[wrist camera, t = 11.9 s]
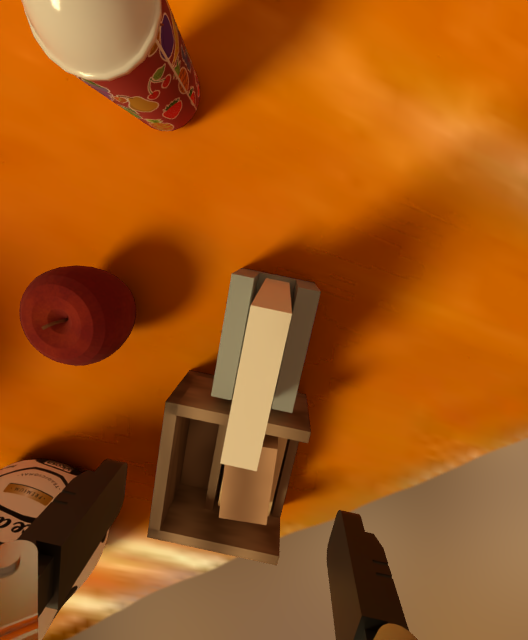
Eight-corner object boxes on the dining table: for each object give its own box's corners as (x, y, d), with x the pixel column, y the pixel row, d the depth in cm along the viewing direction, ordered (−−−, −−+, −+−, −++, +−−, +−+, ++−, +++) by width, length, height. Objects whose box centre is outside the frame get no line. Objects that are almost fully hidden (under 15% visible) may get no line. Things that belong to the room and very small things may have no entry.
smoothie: (222, 66, 32) (124, -208, 13) (197, 155, 34) (79, 38, 15) (139, 36, 32) (-88, -288, 12) (120, 127, 34) (-104, -29, 14)
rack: (305, 394, 39) (310, 432, 31) (278, 506, 43) (276, 565, 35) (189, 370, 39) (165, 401, 32) (172, 483, 43) (147, 537, 35)
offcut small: (278, 432, 35) (277, 449, 32) (267, 503, 37) (266, 525, 35) (231, 425, 36) (227, 441, 33) (223, 496, 38) (218, 517, 35)
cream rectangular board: (289, 282, 35) (291, 313, 20) (268, 377, 38) (256, 471, 22) (266, 277, 35) (250, 305, 20) (247, 372, 38) (220, 463, 22)
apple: (117, 245, 37) (55, 245, 27) (168, 316, 38) (128, 341, 28) (54, 291, 38) (-24, 308, 28) (106, 358, 40) (48, 396, 30)
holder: (314, 282, 36) (320, 291, 29) (290, 383, 39) (292, 413, 32) (242, 267, 36) (231, 273, 29) (224, 369, 39) (210, 395, 32)
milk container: (88, 432, 42) (-53, 567, 25) (139, 542, 46) (48, 729, 28) (-27, 464, 44) (-230, 607, 27) (30, 566, 48) (-117, 753, 30)
